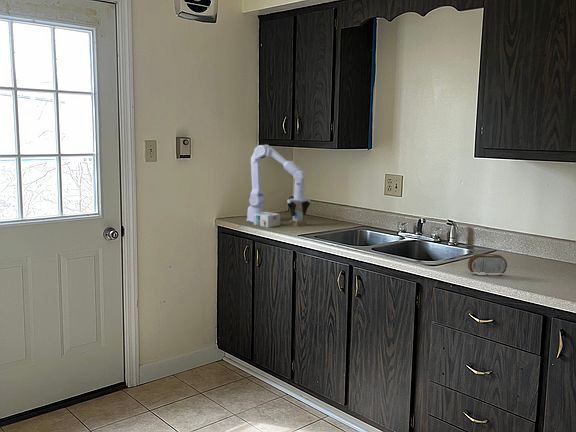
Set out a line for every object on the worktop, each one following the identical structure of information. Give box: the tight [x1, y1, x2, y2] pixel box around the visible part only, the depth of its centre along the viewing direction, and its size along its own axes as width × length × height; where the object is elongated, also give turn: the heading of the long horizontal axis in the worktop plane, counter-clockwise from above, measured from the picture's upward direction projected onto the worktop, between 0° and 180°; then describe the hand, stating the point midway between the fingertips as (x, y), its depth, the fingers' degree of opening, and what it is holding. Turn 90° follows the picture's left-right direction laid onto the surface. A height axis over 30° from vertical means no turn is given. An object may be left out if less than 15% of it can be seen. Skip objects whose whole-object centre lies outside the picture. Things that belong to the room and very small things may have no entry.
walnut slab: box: [288, 219, 308, 227], centre depth 338 cm, size 7×7×3 cm
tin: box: [467, 253, 508, 274], centre depth 237 cm, size 15×3×8 cm, turn 93°
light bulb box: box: [253, 211, 281, 229], centre depth 334 cm, size 11×7×11 cm
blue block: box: [292, 210, 304, 221], centre depth 338 cm, size 4×4×5 cm
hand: (298, 215), depth 338 cm, fingers open, 7 cm apart
